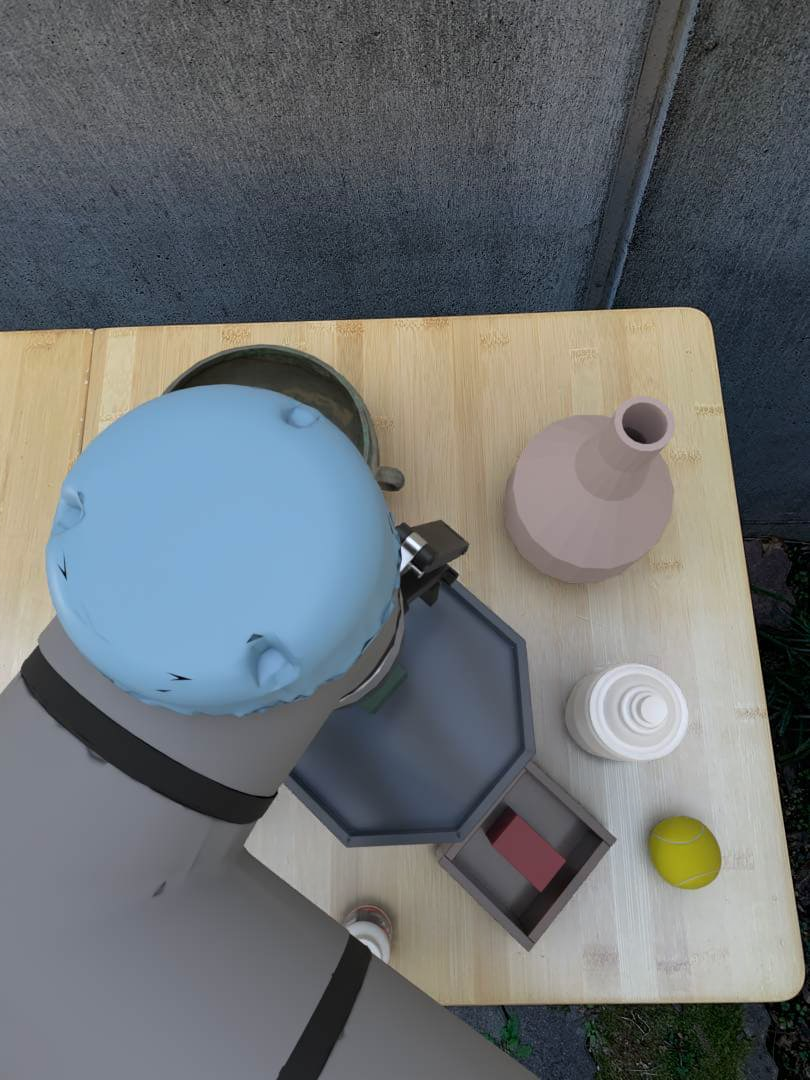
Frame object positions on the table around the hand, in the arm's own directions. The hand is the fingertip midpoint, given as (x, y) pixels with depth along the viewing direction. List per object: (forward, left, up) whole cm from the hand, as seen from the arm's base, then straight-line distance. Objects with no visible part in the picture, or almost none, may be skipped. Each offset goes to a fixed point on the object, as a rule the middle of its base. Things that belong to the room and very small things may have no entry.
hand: (357, 660), depth 49 cm
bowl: (+9, +25, -32) cm, 42 cm away
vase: (+30, -4, -32) cm, 44 cm away
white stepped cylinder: (+14, -21, -32) cm, 41 cm away
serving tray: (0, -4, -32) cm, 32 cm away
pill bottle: (-20, -17, -32) cm, 41 cm away
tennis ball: (+9, -36, -32) cm, 49 cm away
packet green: (0, 0, -7) cm, 7 cm away
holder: (-2, -23, -32) cm, 39 cm away
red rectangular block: (-2, -23, -31) cm, 39 cm away
